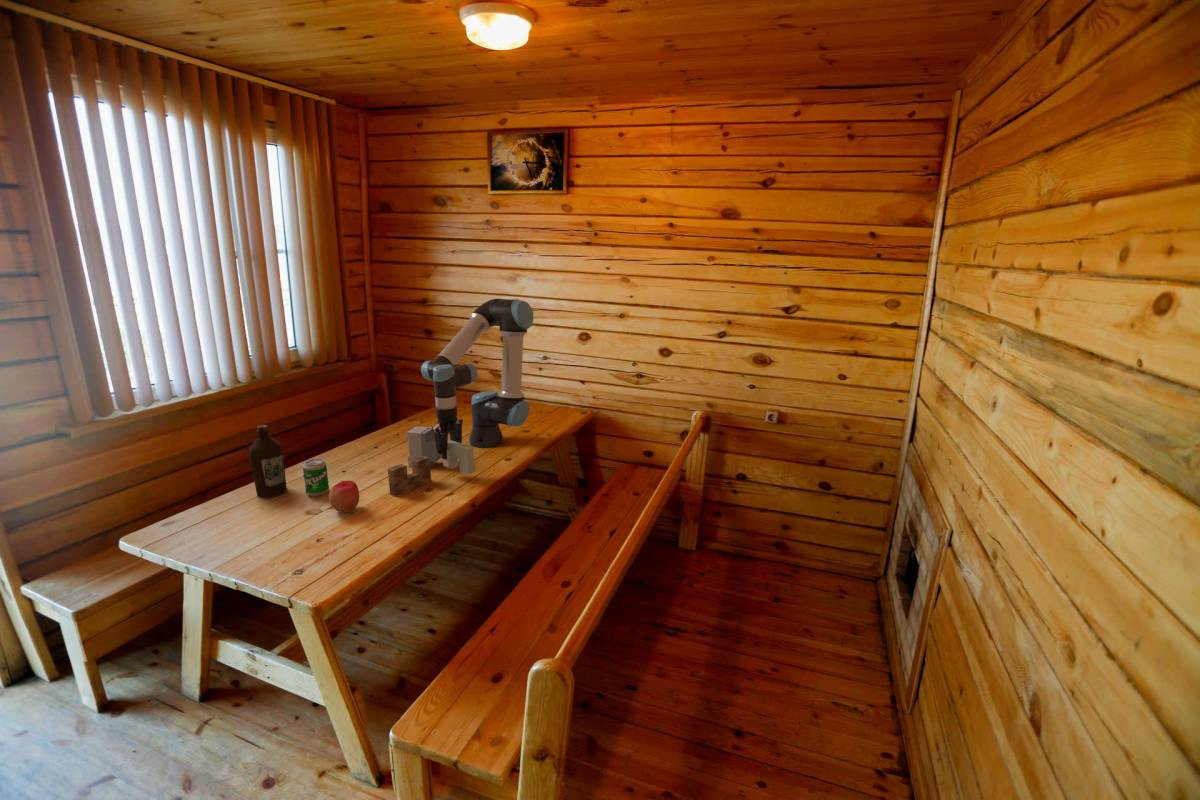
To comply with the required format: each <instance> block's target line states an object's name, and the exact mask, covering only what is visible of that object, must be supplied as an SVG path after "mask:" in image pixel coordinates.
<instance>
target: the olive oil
mask: <svg viewBox="0 0 1200 800" xmlns="http://www.w3.org/2000/svg"><path fill="white" fill-rule="evenodd" d="M256 429H257V430H256V431H257V438H256V439H255V441H253V443H252V444H251V445H250V446H249V450H248V459H249V462H250V463H249V464H250V468H251V473H252V476H253V482H254V487H255V492H256V496H257V497H260V498H262V499H263V498H265V499H267V498H274V497H278V496H281V495H283V494H285V493H286V491H287V489H288V488H287V480H286V468H285V456H284V455H285V453H284V448H283V446H282V444H281V443H280V442H279V441H277V439H275V438H273V437H272V436H270V434H269V433H270V431H269V429H268V425H266V424H262V425H258V426H257V427H256Z"/></svg>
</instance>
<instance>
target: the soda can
mask: <svg viewBox="0 0 1200 800" xmlns="http://www.w3.org/2000/svg"><path fill="white" fill-rule="evenodd" d="M302 471H303V481H304V487H305V494H306V495H309V497H320V496H321V497H322V496H324V495H326V494H327V493H328V491H329V490H330V485H329V477H328V468H327V463H326V462H325V460H323V459H322V458H321V459H320V458H313V459H308V460H307V461H305V462H304V464H303V465H302Z"/></svg>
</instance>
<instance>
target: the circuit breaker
mask: <svg viewBox="0 0 1200 800" xmlns="http://www.w3.org/2000/svg"><path fill="white" fill-rule="evenodd" d="M405 439H406V440H405V441H406V442H405V443H408V451H409V455H408V456H407V464H408V466H407V468H411V469H412V460H414V459H416V458H419V457H422V456H427V457H430V467H432V466H433V465H434V464H436V463H437V462H439V460H441V459H442V452H441V451H438V450H437V449H436V443H435V437H434V432H433V430H432V427H427V426H413V428H411V429H409V430H407V431H406V435H405Z"/></svg>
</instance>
